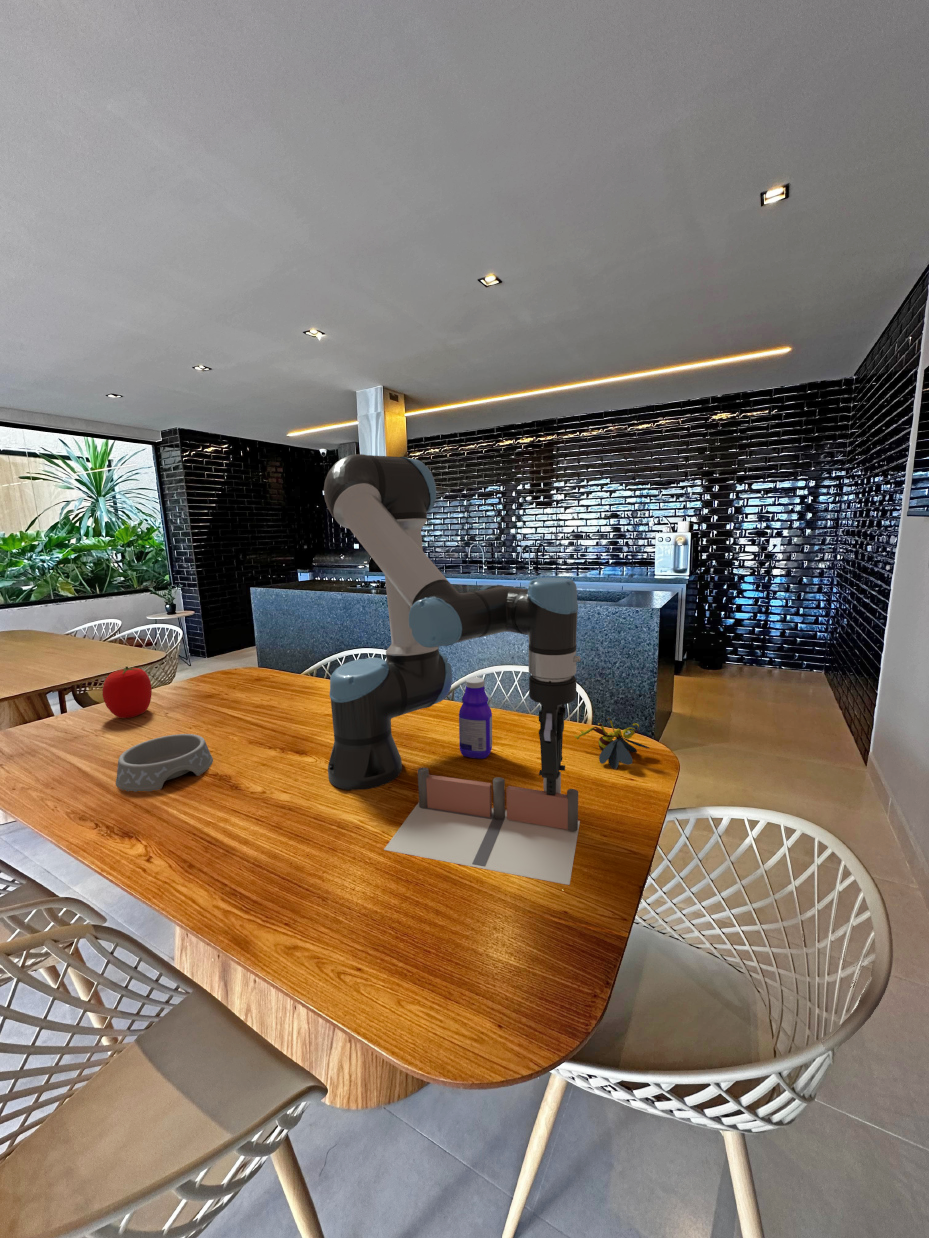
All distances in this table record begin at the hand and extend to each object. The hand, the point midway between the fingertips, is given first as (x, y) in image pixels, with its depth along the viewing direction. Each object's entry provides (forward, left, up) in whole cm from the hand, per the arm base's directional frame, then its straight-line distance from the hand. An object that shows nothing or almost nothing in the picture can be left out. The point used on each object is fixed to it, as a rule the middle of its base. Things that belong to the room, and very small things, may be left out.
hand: (552, 808), depth 86 cm
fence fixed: (-16, -1, -3) cm, 16 cm away
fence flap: (-2, -1, -2) cm, 3 cm away
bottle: (-20, +22, -3) cm, 30 cm away
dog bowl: (-83, -2, -4) cm, 83 cm away
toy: (+8, +29, -3) cm, 30 cm away
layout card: (-10, -7, -3) cm, 12 cm away
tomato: (-121, +21, -3) cm, 123 cm away
